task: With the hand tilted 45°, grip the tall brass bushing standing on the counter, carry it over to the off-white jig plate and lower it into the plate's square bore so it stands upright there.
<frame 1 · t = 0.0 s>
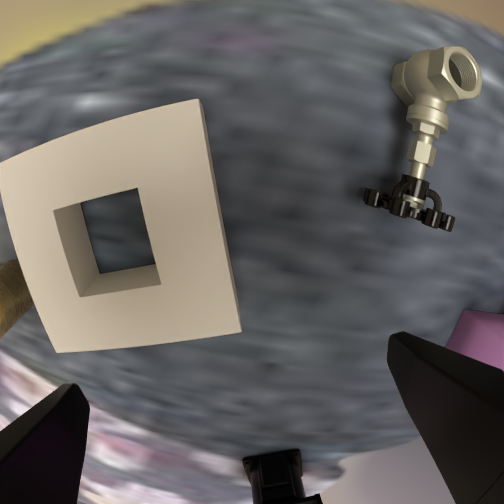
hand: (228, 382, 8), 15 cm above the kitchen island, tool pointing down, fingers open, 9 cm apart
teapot: (471, 367, 30), on the kitchen island
jig plate: (123, 229, 21), on the kitchen island
valve: (400, 130, 21), on the kitchen island
brass bushing: (19, 284, 21), on the kitchen island
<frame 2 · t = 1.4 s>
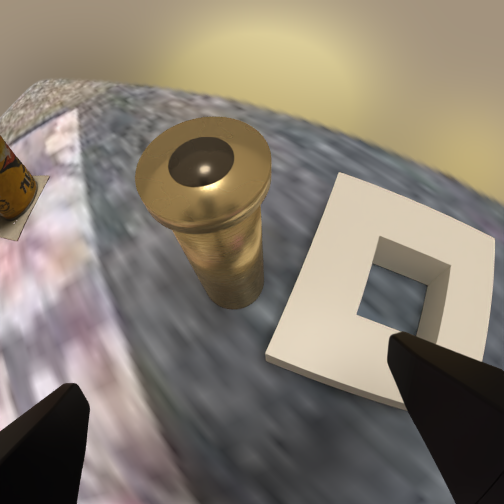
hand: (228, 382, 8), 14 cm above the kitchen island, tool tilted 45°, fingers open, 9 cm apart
jig plate: (388, 306, 22), on the kitchen island
condiment: (16, 206, 29), on the kitchen island
brass bushing: (234, 280, 24), on the kitchen island
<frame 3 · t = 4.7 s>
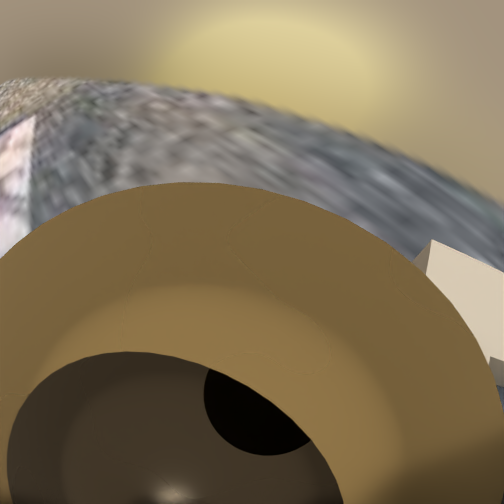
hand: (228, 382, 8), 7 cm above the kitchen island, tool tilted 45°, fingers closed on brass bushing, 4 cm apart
jig plate: (469, 431, 11), on the kitchen island
brass bushing: (251, 416, 13), on the kitchen island, touching gripper
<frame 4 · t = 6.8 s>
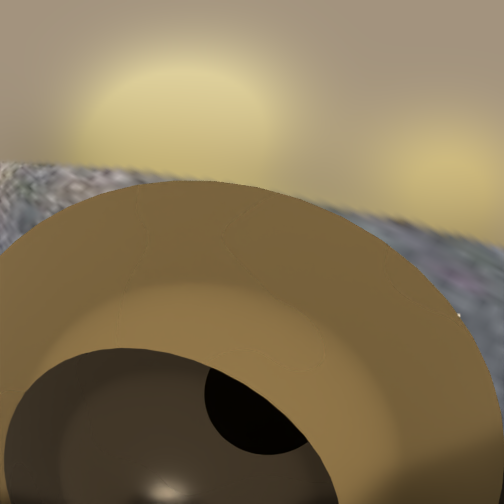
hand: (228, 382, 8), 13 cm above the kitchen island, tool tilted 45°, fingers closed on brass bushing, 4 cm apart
brass bushing: (250, 415, 13), point 7 cm above the kitchen island, touching gripper
when the fingers open (8 cm above the kitchen island, at t = 9.3 s): brass bushing drops 1 cm, resting in jig plate.
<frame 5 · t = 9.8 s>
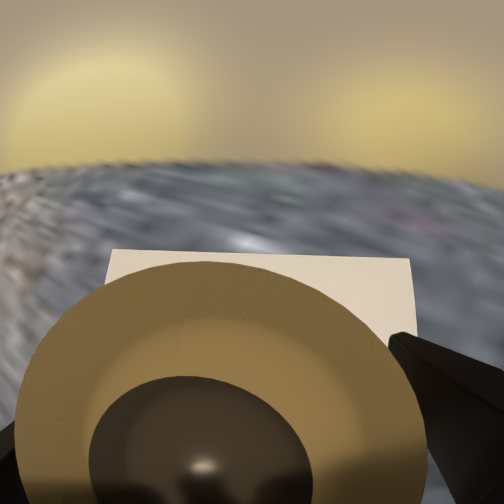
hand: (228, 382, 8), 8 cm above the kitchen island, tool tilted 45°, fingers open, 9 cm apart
jig plate: (252, 414, 14), on the kitchen island
brass bushing: (251, 415, 14), resting in jig plate
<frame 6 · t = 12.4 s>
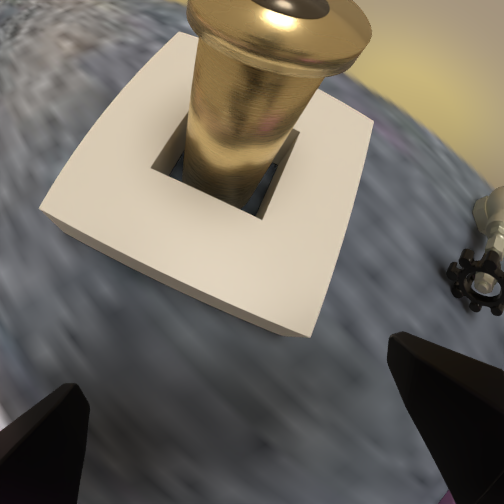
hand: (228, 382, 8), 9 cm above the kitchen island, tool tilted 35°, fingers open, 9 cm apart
jig plate: (219, 180, 19), on the kitchen island
valve: (471, 246, 24), on the kitchen island
brass bushing: (218, 181, 19), resting in jig plate
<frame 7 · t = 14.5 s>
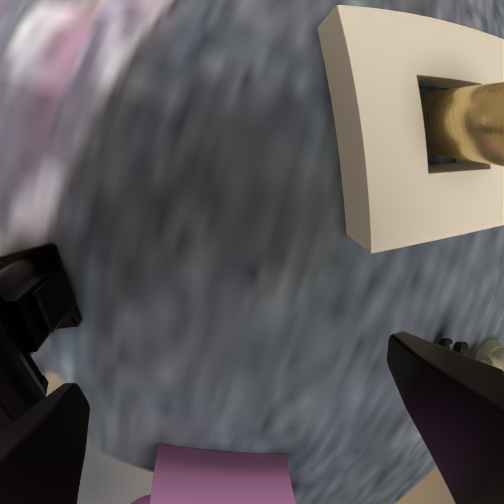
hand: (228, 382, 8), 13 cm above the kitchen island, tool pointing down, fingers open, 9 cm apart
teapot: (204, 480, 29), on the kitchen island
jig plate: (423, 125, 19), on the kitchen island
valve: (463, 351, 26), on the kitchen island
brass bushing: (423, 124, 19), resting in jig plate
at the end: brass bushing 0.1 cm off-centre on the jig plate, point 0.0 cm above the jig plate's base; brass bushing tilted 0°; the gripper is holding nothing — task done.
